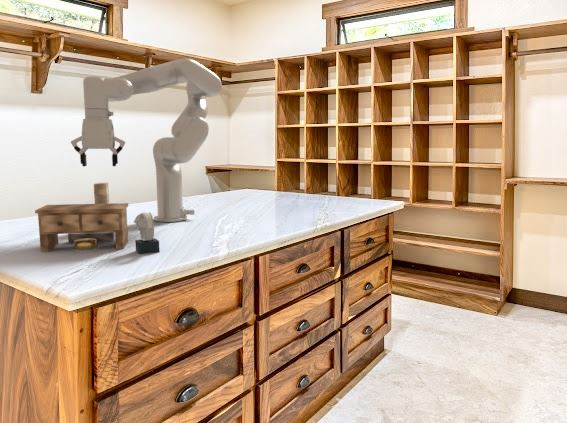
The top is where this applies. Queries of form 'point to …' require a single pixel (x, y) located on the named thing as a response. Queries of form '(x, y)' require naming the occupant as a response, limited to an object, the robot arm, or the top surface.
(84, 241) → the brass token
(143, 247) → the watch
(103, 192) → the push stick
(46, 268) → the top surface
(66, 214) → the cabinet
